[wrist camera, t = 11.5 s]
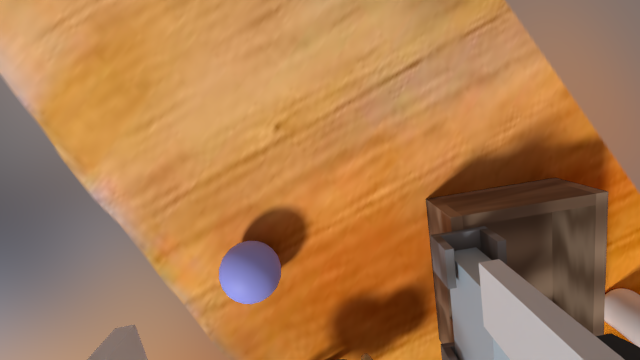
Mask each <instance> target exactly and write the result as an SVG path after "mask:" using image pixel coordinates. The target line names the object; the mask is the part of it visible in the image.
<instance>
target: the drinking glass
mask: <svg viewBox="0 0 640 360" xmlns="http://www.w3.org/2000/svg"><path fill="white" fill-rule="evenodd" d="M604 321H605V322H606V323H608V324H609V325H610V326H612V327H613V328H615V329H616V330H617V331H619V332H620V333H621V334H622V335H624V336H625V337H626V338H627V339H628V340H630V341H631V342H632V343H633V344H634V345H636V346H638V347H639V348H640V295H639V294H638V293H636V292H634V291H632V290H629V289H625V288H618V289H614V290H611V291H609V292H608V293H606V294H605V308H604Z"/></svg>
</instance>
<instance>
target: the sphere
mask: <svg viewBox="0 0 640 360" xmlns="http://www.w3.org/2000/svg"><path fill="white" fill-rule="evenodd" d="M280 277H281V264H280V261H279V258H278V255H277V254H276V253H275V251H274V250H273V249H272V248H271V247H269V246H268V245H267V244H265V243H262V242H259V241H245V242H242V243H239V244H237V245H236V246H234V247H233V248H231V249H230V250H229V251H228V252H227V254H226V255H225V256H224V257H223V259H222V262H221V265H220V268H219V280H220V283H221V286H222V288H223V290H224V291H225V293H226V294H227V295H228V296H229V297H230V298H231V299H233V300H234V301H236V302H240V303H243V304H253V303H257V302H261V301H262V300H264V299H266V298H267V297H269V296H270V295H271V294H272V293H273V291H274V290H275V289H276V288H277V285H278V283H279V280H280Z"/></svg>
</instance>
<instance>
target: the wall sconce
mask: <svg viewBox="0 0 640 360" xmlns="http://www.w3.org/2000/svg"><path fill="white" fill-rule="evenodd" d="M337 360H345V359H337ZM361 360H373V359H372V358H371V357H370V356H369V355H368V354H367V353H365V354H363V355H362V357H361Z"/></svg>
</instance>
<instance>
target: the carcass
mask: <svg viewBox="0 0 640 360" xmlns="http://www.w3.org/2000/svg"><path fill="white" fill-rule="evenodd" d="M426 205H427V216H428V226H429V236H430V247H431V257H432V268H433V278H434V288H435V299H436V309H437V320H438V330H439V339H440V341H441V343H442V344H441V353H442V360H458V359H457V357H456V355H455V343H454V331H453V319H452V307H451V295H450V289H453V288H457V285H456V273H455V260H454V251H457V250H463V249H469V248H475V247H476V248H478V249H479V250H480V251H481V252H482V253H484V254H485V255H486V256H487V257H489V258H490V259H491V260H496V259H500V260H501V261H502V262H503V263H505V264H506V265H507V266H508V267H510V268H511V269H512V270H513V271H515V272H516V273H517V274H518V275H520V276H521V277H522V278H523V279H525V280H526V281H527V282H528V283H530V284H531V285H532V286H533V287H535V288H536V289H537V290H538V291H540V292H541V293H542V294H543V295H545V296H546V297H547V298H548V299H550V300H551V301H552V302H553V303H555V304H556V305H557V306H558V307H560V308H561V309H562V310H563V311H565V312H566V313H567V314H568V315H570V316H571V317H572V318H573V319H575V320H576V321H577V322H578V323H580V324H581V325H582V326H583V327H585V328H586V329H587V330H588V331H590V332H591V333H592V334H593V335H595V336H599V335H604V308H605V276H606V244H607V213H608V192H607V191H604V190H600V189H596V188H592V187H589V186H585V185H581V184H577V183H574V182H570V181H566V180H562V179H559V178H550V179H544V180H538V181H532V182H526V183H520V184H514V185H508V186H502V187H496V188H490V189H484V190H478V191H472V192H466V193H460V194H453V195H447V196H441V197H435V198H429V199H426Z"/></svg>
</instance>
